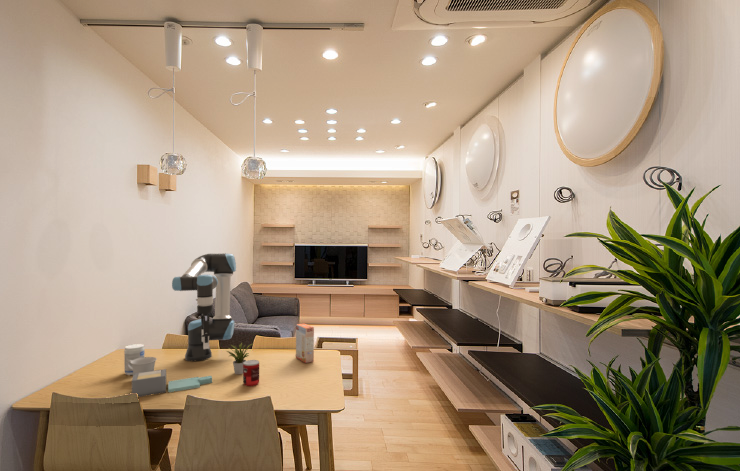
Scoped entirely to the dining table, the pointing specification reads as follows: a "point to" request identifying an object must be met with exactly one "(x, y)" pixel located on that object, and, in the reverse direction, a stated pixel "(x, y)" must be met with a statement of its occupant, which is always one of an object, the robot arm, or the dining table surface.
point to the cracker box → (305, 342)
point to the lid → (188, 383)
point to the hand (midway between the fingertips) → (205, 345)
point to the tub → (149, 382)
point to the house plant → (239, 358)
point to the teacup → (142, 364)
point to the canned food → (251, 372)
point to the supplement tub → (132, 355)
